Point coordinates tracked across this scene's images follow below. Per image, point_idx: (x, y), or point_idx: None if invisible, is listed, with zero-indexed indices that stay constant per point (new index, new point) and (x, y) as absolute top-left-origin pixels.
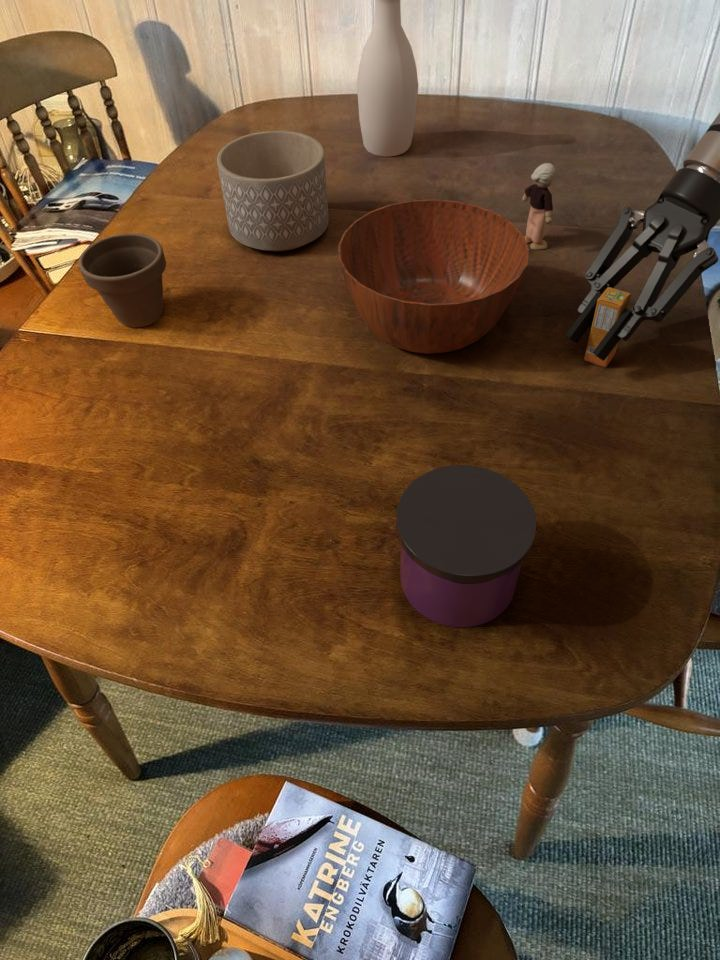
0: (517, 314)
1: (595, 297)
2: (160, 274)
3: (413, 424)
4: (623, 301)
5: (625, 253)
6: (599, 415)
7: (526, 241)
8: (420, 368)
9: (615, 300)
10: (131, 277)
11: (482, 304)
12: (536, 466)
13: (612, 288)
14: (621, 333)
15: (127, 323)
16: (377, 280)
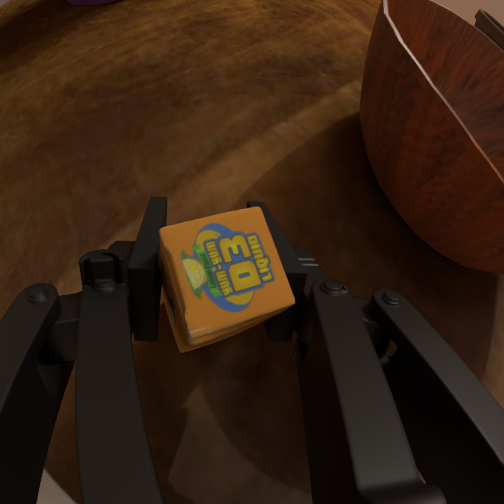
0: (400, 290)
1: (292, 261)
2: (491, 34)
3: (272, 32)
4: (172, 260)
5: (396, 429)
6: (90, 180)
7: None
8: (354, 93)
9: (200, 237)
10: (482, 13)
11: (379, 27)
12: (114, 60)
13: (273, 304)
14: (126, 246)
15: None
16: (498, 160)
